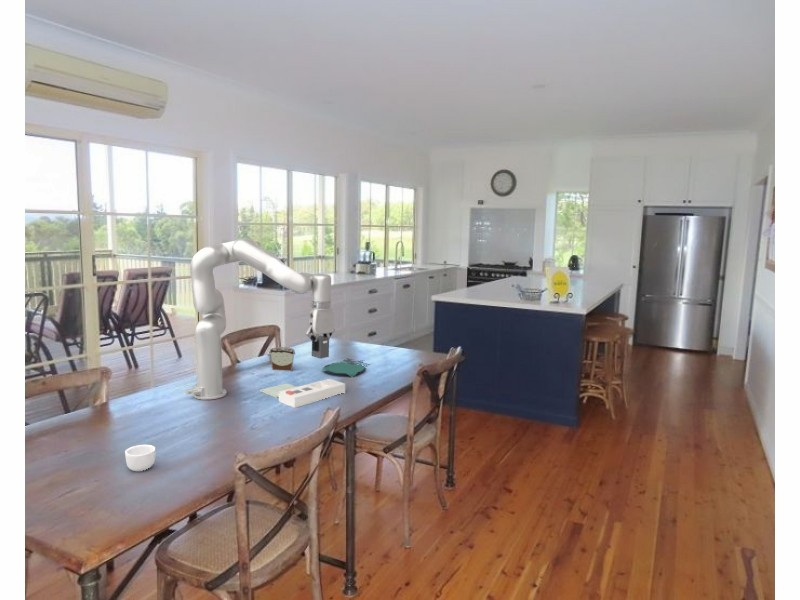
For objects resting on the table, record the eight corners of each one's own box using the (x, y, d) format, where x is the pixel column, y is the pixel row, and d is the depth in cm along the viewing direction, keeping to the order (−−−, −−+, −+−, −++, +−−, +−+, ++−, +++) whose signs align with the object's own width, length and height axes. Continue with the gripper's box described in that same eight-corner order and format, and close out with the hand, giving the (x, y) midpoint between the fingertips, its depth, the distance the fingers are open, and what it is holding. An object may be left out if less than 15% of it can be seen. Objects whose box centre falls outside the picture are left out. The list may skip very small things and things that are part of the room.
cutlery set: (315, 374, 253) (315, 369, 253) (343, 360, 281) (343, 356, 281) (354, 380, 247) (354, 375, 246) (379, 365, 275) (379, 361, 274)
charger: (320, 358, 217) (321, 339, 216) (311, 356, 221) (312, 336, 220) (329, 357, 221) (329, 337, 219) (320, 354, 224) (320, 335, 223)
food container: (298, 367, 263) (298, 347, 261) (294, 371, 257) (294, 350, 255) (273, 366, 264) (273, 346, 262) (269, 369, 258) (269, 349, 256)
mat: (276, 398, 218) (276, 396, 218) (259, 391, 226) (259, 390, 226) (304, 390, 228) (304, 389, 228) (286, 384, 236) (286, 383, 236)
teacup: (162, 465, 157) (161, 447, 156) (139, 476, 150) (138, 458, 149) (137, 458, 161) (136, 441, 160) (114, 468, 154) (113, 450, 153)
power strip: (294, 407, 207) (294, 395, 206) (278, 401, 214) (278, 389, 213) (345, 393, 227) (345, 381, 226) (329, 387, 233) (329, 376, 232)
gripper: (310, 308, 209) (309, 354, 212) (343, 304, 222) (342, 348, 224) (298, 305, 214) (297, 351, 217) (330, 302, 226) (330, 345, 229)
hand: (320, 349), depth 220 cm, fingers closed on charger, 4 cm apart
